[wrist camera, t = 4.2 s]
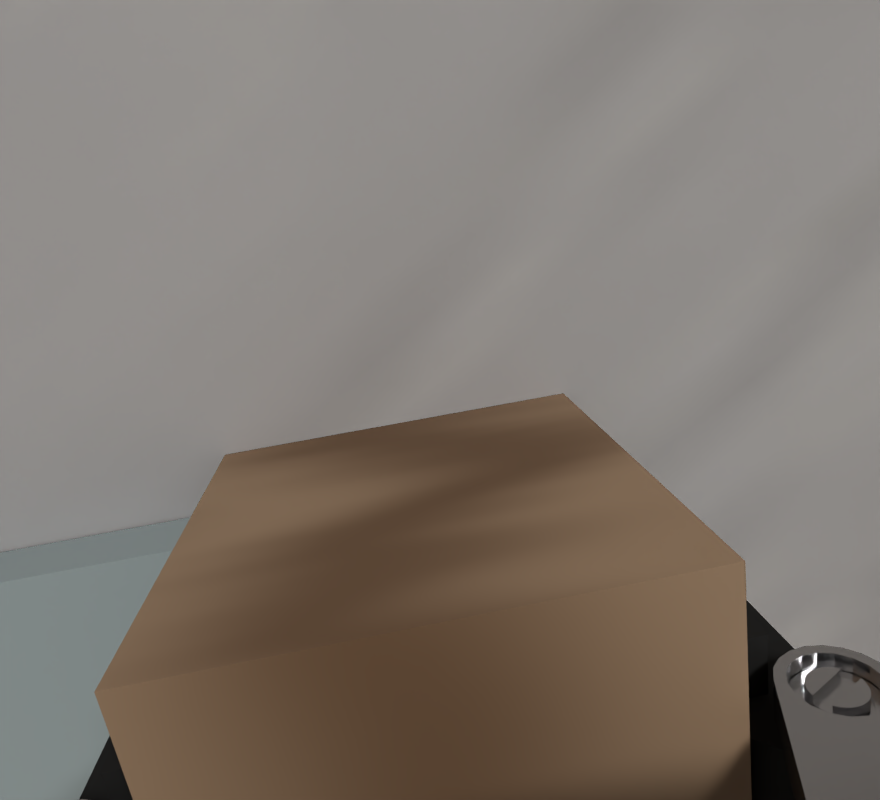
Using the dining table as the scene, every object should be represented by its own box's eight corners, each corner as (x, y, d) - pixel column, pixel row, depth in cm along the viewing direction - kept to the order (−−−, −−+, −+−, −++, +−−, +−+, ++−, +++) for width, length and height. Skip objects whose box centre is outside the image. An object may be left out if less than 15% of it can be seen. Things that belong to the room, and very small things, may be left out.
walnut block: (563, 393, 12) (745, 561, 6) (592, 674, 14) (757, 1006, 8) (225, 454, 12) (94, 692, 6) (298, 735, 13) (251, 1129, 8)
